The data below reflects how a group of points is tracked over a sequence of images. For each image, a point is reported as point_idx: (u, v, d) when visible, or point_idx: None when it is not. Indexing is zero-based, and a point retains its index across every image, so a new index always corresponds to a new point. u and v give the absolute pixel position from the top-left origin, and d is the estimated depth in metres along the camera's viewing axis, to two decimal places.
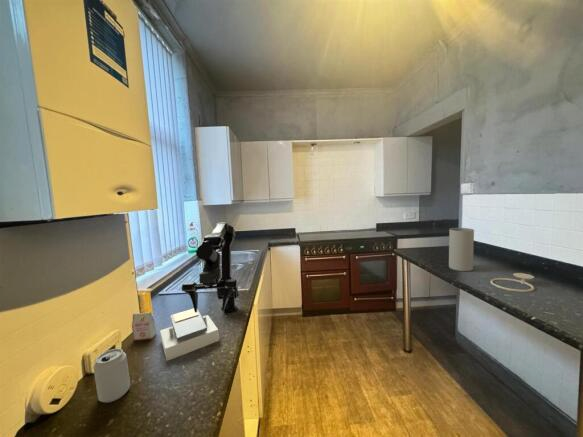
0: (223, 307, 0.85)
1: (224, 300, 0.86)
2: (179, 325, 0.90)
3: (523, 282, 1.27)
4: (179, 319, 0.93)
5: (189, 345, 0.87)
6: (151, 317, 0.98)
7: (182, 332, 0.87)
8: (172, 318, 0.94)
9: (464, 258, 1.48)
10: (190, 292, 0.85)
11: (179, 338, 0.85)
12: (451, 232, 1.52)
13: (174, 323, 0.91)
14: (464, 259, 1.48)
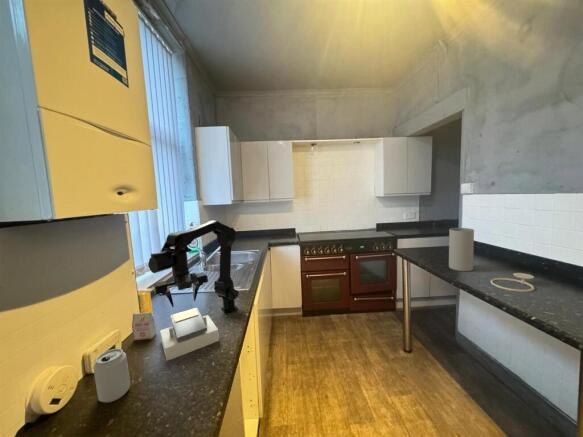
0: (195, 299, 0.98)
1: (195, 293, 0.98)
2: (179, 325, 0.90)
3: (523, 282, 1.28)
4: (179, 319, 0.93)
5: (189, 345, 0.87)
6: (151, 317, 0.98)
7: (182, 332, 0.87)
8: (172, 318, 0.94)
9: (464, 258, 1.48)
10: (167, 294, 0.90)
11: (179, 338, 0.85)
12: (451, 232, 1.52)
13: (174, 323, 0.91)
14: (464, 259, 1.48)
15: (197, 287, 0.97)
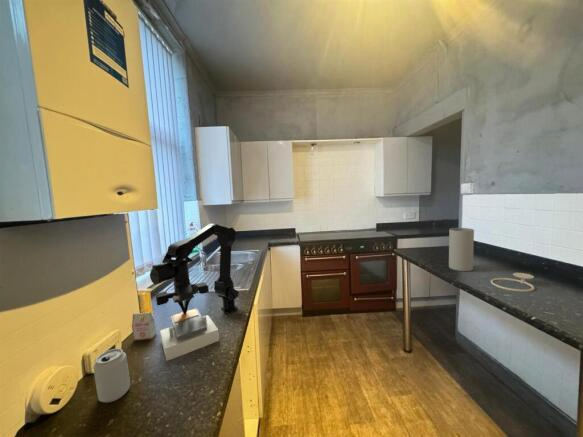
0: (186, 311, 0.97)
1: (186, 306, 0.96)
2: (179, 325, 0.90)
3: (523, 282, 1.28)
4: (179, 319, 0.93)
5: (189, 345, 0.87)
6: (151, 317, 0.98)
7: (182, 331, 0.87)
8: (172, 319, 0.94)
9: (464, 258, 1.48)
10: (179, 301, 0.93)
11: (179, 337, 0.85)
12: (451, 232, 1.52)
13: (174, 323, 0.91)
14: (464, 259, 1.48)
15: (188, 300, 0.96)
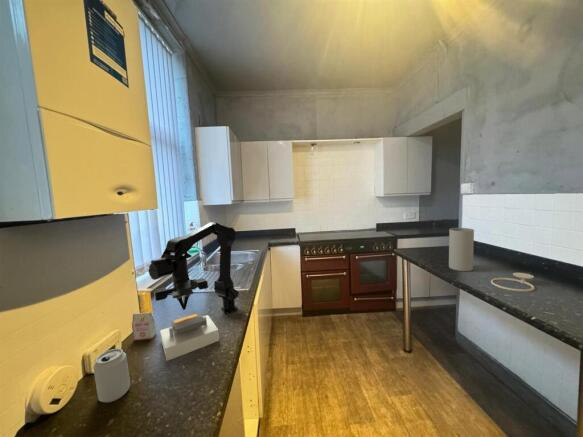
0: (185, 307, 0.96)
1: (185, 302, 0.96)
2: (179, 324, 0.90)
3: (523, 282, 1.28)
4: (179, 321, 0.93)
5: (189, 345, 0.87)
6: (151, 317, 0.98)
7: (181, 326, 0.87)
8: (172, 322, 0.94)
9: (464, 258, 1.48)
10: (178, 297, 0.93)
11: (178, 330, 0.84)
12: (451, 232, 1.52)
13: (174, 324, 0.91)
14: (464, 259, 1.48)
15: (187, 295, 0.95)
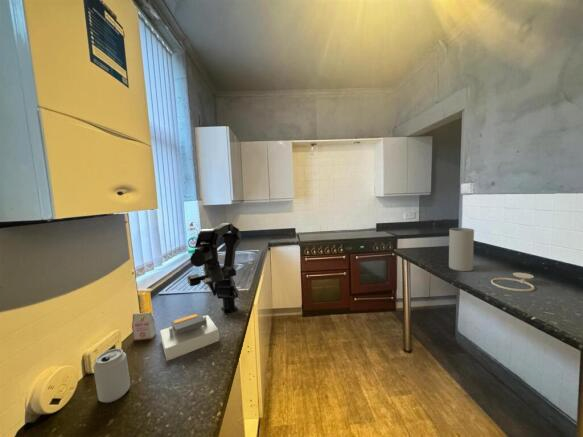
0: (215, 293, 1.02)
1: (216, 288, 1.02)
2: (179, 324, 0.90)
3: (523, 282, 1.28)
4: (179, 321, 0.93)
5: (189, 345, 0.87)
6: (151, 317, 0.98)
7: (181, 326, 0.87)
8: (172, 322, 0.94)
9: (464, 258, 1.48)
10: (210, 283, 0.99)
11: (178, 330, 0.84)
12: (451, 232, 1.52)
13: (174, 324, 0.91)
14: (464, 259, 1.48)
15: (218, 282, 1.01)
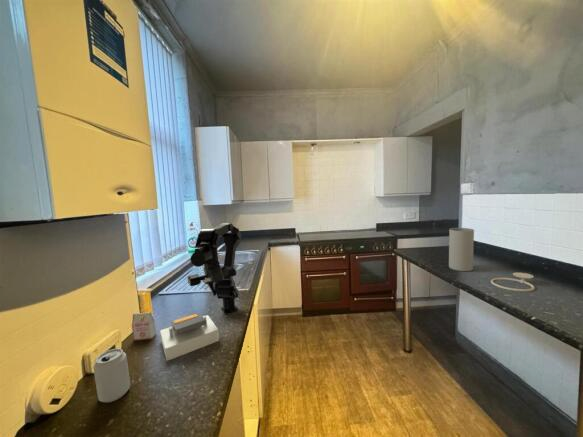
0: (215, 293, 1.02)
1: (216, 288, 1.02)
2: (179, 324, 0.90)
3: (523, 281, 1.28)
4: (179, 321, 0.93)
5: (189, 345, 0.87)
6: (151, 317, 0.98)
7: (181, 326, 0.87)
8: (172, 322, 0.94)
9: (464, 258, 1.48)
10: (210, 283, 0.99)
11: (178, 330, 0.84)
12: (451, 232, 1.52)
13: (174, 324, 0.91)
14: (464, 259, 1.48)
15: (218, 282, 1.01)
